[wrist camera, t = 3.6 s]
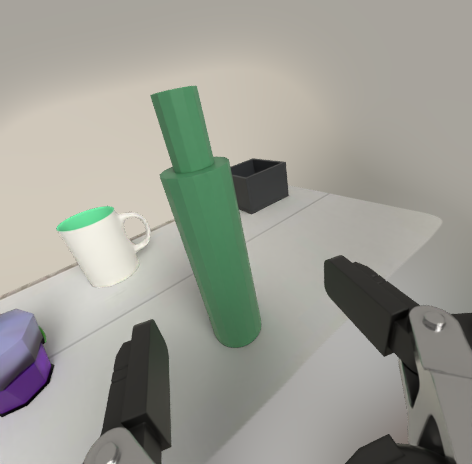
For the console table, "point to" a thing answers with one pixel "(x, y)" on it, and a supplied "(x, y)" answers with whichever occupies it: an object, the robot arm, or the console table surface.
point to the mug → (102, 244)
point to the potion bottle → (21, 360)
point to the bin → (259, 183)
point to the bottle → (207, 217)
